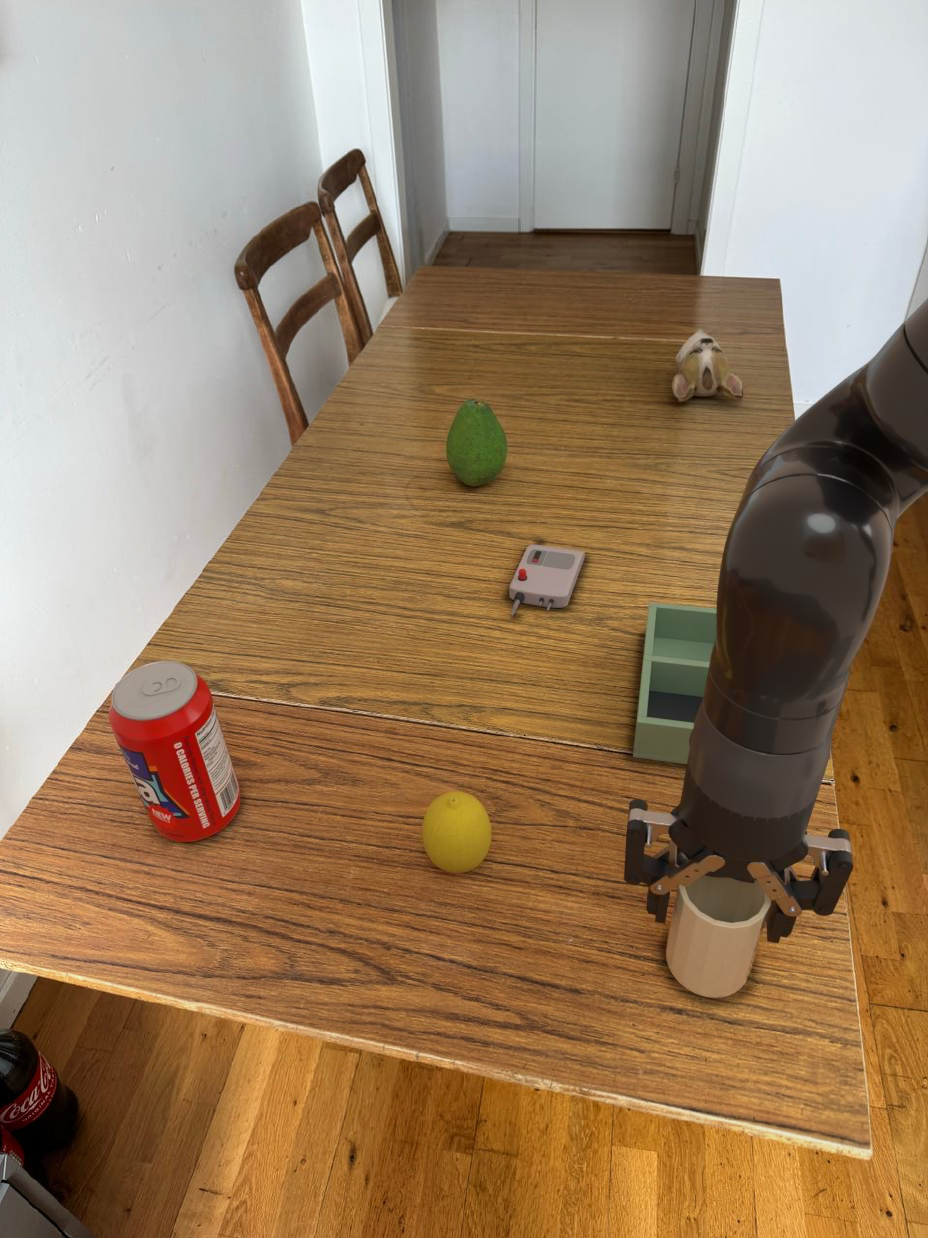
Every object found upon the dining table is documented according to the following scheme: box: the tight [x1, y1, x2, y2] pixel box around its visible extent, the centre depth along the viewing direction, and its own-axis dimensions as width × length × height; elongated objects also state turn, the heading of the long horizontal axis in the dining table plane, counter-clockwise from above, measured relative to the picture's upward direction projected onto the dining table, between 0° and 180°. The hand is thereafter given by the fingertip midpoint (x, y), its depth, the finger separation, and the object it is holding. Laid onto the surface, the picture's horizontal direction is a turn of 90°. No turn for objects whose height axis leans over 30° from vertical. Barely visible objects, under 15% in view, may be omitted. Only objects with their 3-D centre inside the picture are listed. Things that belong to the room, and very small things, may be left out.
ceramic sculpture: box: [670, 328, 744, 403], centre depth 136 cm, size 11×9×15 cm
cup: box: [665, 875, 771, 999], centre depth 63 cm, size 6×6×9 cm
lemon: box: [421, 790, 493, 874], centre depth 70 cm, size 6×6×8 cm
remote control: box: [508, 543, 586, 617], centre depth 101 cm, size 7×16×3 cm, turn 162°
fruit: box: [445, 398, 508, 488], centre depth 116 cm, size 8×8×12 cm
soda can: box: [108, 660, 242, 843], centre depth 74 cm, size 8×8×15 cm
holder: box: [632, 601, 716, 765], centre depth 85 cm, size 17×9×5 cm, turn 167°
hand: (715, 921), depth 63 cm, fingers open, 7 cm apart
